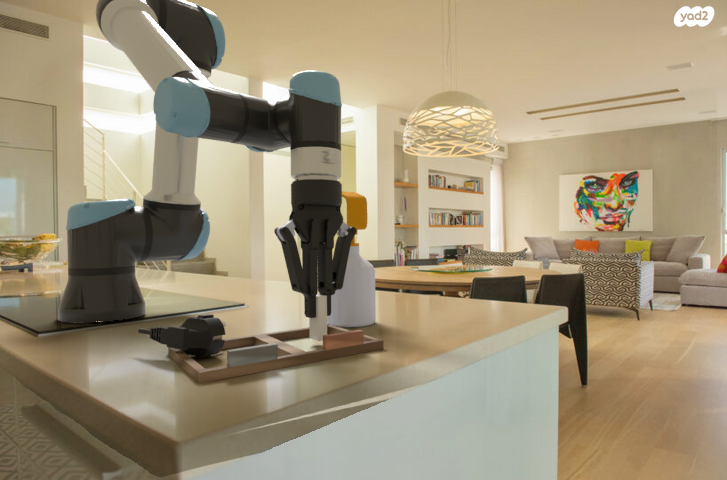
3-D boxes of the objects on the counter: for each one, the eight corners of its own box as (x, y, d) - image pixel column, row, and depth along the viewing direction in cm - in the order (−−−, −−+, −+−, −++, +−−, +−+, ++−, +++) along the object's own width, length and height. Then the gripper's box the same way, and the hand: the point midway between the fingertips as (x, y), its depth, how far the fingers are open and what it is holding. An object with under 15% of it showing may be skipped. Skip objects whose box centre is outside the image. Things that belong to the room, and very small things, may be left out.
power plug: (136, 310, 64) (198, 319, 59) (180, 307, 71) (240, 314, 66) (133, 351, 64) (196, 364, 59) (178, 344, 71) (238, 355, 65)
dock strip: (168, 355, 64) (167, 334, 64) (329, 331, 79) (329, 313, 79) (199, 383, 52) (199, 356, 52) (383, 348, 67) (383, 327, 67)
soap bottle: (359, 317, 93) (358, 193, 93) (384, 324, 85) (383, 189, 85) (318, 321, 88) (317, 192, 88) (341, 330, 80) (339, 187, 80)
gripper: (287, 174, 62) (289, 350, 63) (366, 180, 70) (368, 337, 70) (265, 180, 68) (267, 340, 69) (340, 184, 76) (341, 329, 76)
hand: (318, 338), depth 69 cm, fingers closed
